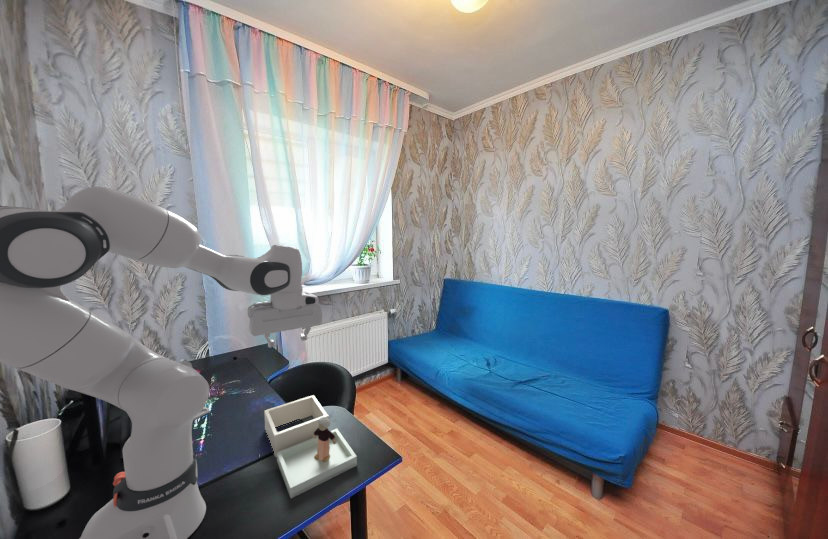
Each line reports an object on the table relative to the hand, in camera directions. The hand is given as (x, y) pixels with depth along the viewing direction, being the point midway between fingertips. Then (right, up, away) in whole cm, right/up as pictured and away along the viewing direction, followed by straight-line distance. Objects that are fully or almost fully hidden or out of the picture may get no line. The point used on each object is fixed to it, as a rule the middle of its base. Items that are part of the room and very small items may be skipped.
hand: (288, 343), depth 91 cm
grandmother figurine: (+12, -32, -5) cm, 35 cm away
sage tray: (+11, -33, -6) cm, 35 cm away
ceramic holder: (0, -31, +6) cm, 31 cm away
